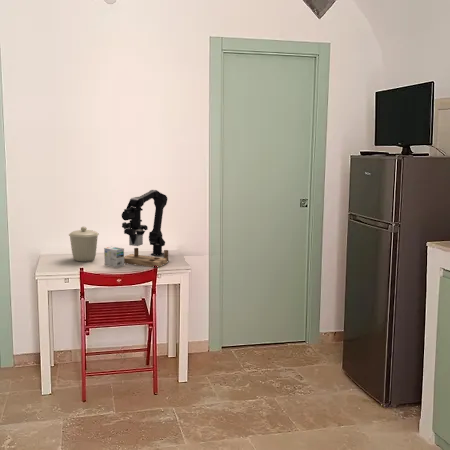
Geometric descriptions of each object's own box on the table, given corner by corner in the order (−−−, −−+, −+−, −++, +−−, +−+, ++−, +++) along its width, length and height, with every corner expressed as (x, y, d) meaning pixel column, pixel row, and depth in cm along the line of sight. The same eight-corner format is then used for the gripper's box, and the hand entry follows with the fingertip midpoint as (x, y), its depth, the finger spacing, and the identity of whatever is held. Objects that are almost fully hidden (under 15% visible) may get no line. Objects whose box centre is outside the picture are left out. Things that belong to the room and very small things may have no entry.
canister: (102, 257, 378) (102, 224, 374) (93, 263, 360) (93, 229, 356) (75, 255, 379) (74, 223, 376) (65, 262, 362) (64, 228, 358)
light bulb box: (124, 265, 358) (124, 248, 356) (116, 267, 352) (116, 250, 350) (112, 262, 364) (111, 245, 362) (104, 265, 358) (103, 247, 356)
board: (131, 258, 375) (130, 246, 374) (167, 263, 365) (167, 250, 364) (120, 262, 364) (120, 250, 363) (157, 267, 354) (157, 254, 353)
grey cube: (134, 243, 371) (134, 234, 370) (142, 244, 369) (142, 234, 368) (129, 245, 366) (129, 235, 365) (137, 246, 364) (137, 236, 363)
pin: (165, 260, 372) (165, 249, 370) (169, 261, 371) (169, 250, 370) (163, 261, 369) (163, 250, 368) (167, 262, 368) (167, 251, 367)
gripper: (132, 215, 376) (132, 239, 379) (116, 219, 359) (116, 244, 362) (147, 216, 372) (147, 240, 375) (132, 221, 355) (132, 246, 358)
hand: (136, 243), depth 367 cm, fingers closed on grey cube, 6 cm apart
